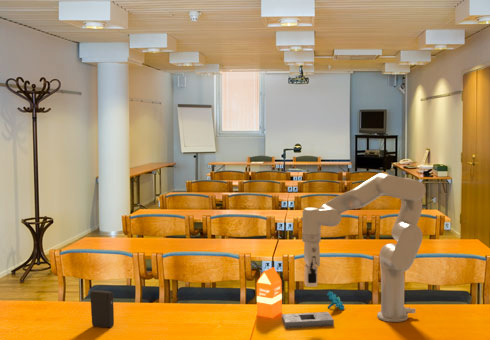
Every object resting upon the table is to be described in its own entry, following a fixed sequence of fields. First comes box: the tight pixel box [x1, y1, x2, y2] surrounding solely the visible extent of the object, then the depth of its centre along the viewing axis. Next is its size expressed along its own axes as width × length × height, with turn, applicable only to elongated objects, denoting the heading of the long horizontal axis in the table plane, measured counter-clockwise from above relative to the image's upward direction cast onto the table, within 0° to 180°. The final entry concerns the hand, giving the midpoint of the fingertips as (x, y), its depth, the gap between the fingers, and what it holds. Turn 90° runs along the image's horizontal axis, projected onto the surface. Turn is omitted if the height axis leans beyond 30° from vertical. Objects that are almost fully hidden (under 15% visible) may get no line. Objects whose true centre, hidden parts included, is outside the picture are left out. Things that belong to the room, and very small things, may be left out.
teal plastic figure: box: [326, 291, 346, 311], centre depth 270 cm, size 11×6×10 cm
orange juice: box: [256, 266, 283, 319], centre depth 263 cm, size 8×9×20 cm
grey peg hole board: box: [281, 311, 335, 329], centre depth 251 cm, size 20×10×2 cm, turn 95°
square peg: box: [303, 264, 319, 288], centre depth 250 cm, size 4×4×8 cm
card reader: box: [90, 289, 115, 328], centre depth 252 cm, size 9×4×15 cm, turn 71°
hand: (310, 280), depth 250 cm, fingers closed on square peg, 4 cm apart
